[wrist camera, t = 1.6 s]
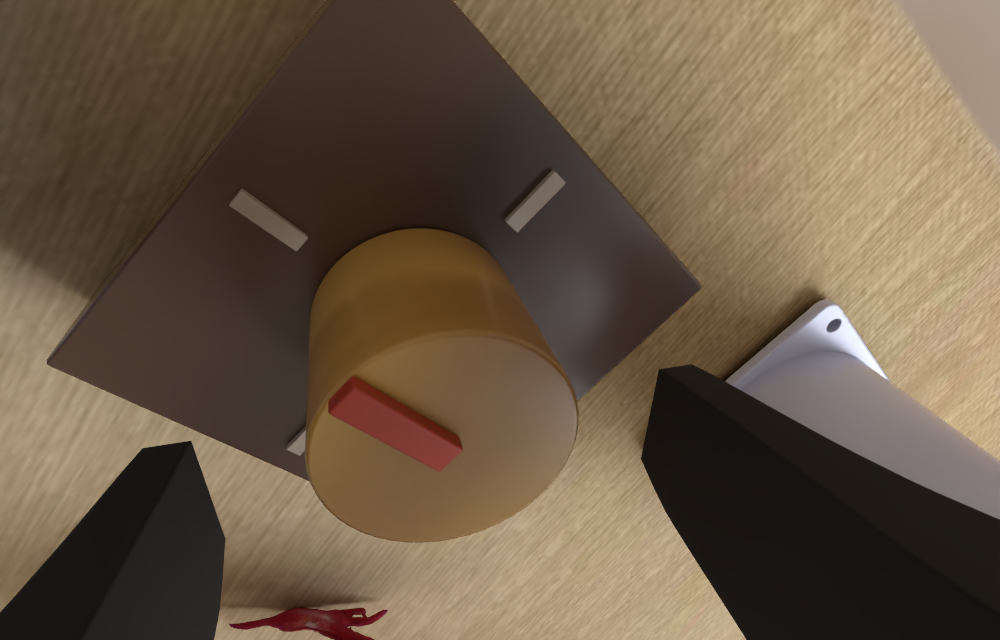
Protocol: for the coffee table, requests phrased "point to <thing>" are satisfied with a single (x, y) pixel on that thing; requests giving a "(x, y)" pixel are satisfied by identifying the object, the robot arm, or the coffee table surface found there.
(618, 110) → the coffee table surface
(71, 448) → the coffee table surface
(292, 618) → the decorative bird figurine
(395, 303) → the lock knob
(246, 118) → the plate
